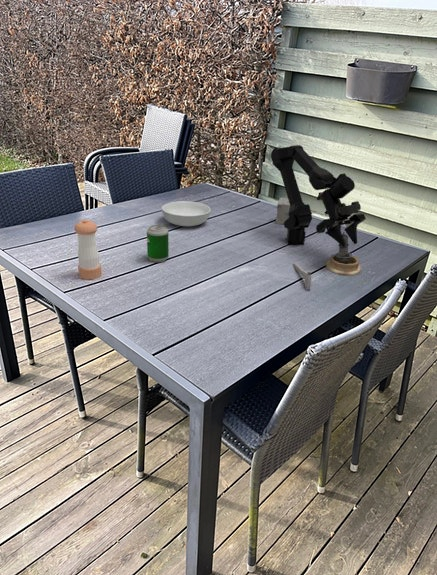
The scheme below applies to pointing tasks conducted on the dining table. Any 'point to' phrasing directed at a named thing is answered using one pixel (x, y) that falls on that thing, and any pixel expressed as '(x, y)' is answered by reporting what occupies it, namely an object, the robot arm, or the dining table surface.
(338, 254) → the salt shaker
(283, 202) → the incense holder
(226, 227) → the dining table surface
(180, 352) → the dining table surface
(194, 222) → the serving bowl
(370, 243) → the dining table surface
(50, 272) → the dining table surface
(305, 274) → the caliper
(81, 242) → the pepper shaker
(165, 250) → the soda can
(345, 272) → the dish
